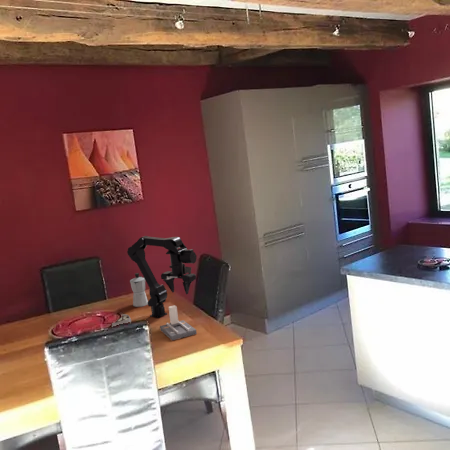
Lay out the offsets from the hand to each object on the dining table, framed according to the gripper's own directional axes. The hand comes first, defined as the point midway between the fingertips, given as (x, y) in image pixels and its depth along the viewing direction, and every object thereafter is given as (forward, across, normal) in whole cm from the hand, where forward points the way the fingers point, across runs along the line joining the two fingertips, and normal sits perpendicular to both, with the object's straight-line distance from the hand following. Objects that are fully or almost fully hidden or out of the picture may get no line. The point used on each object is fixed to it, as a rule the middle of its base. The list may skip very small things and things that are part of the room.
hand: (180, 293), depth 250 cm
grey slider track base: (+13, -11, +16) cm, 23 cm away
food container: (+13, +7, +32) cm, 35 cm away
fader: (+11, -7, +14) cm, 19 cm away
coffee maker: (+13, +39, -9) cm, 42 cm away
